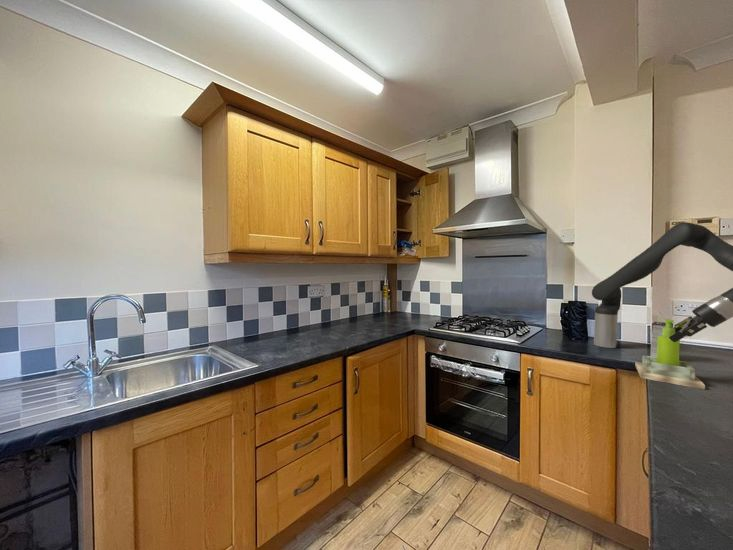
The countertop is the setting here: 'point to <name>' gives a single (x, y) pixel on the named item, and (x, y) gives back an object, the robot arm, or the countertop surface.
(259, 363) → the countertop surface
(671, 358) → the soap dispenser
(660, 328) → the coffee box
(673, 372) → the dispenser caddy
